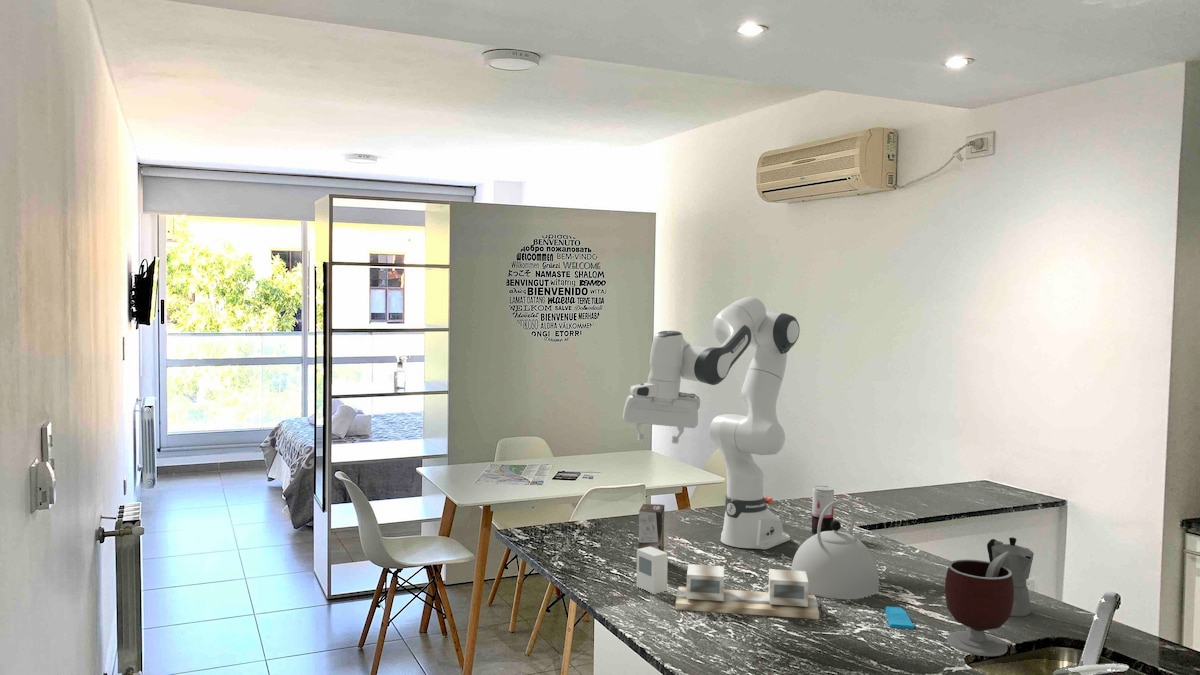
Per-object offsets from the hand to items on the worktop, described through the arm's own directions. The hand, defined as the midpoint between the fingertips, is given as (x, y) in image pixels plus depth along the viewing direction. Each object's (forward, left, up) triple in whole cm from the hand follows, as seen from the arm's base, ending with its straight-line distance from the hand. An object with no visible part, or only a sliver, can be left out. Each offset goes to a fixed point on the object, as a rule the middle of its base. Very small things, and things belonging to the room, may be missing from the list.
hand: (657, 441), depth 233 cm
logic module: (+8, +8, -37) cm, 38 cm away
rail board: (-4, +30, -37) cm, 47 cm away
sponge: (-28, +57, -37) cm, 74 cm away
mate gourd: (-30, +76, -37) cm, 90 cm away
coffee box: (-5, -8, -37) cm, 38 cm away
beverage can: (-69, 0, -37) cm, 78 cm away
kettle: (-36, +32, -37) cm, 61 cm away
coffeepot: (-56, +68, -37) cm, 95 cm away
